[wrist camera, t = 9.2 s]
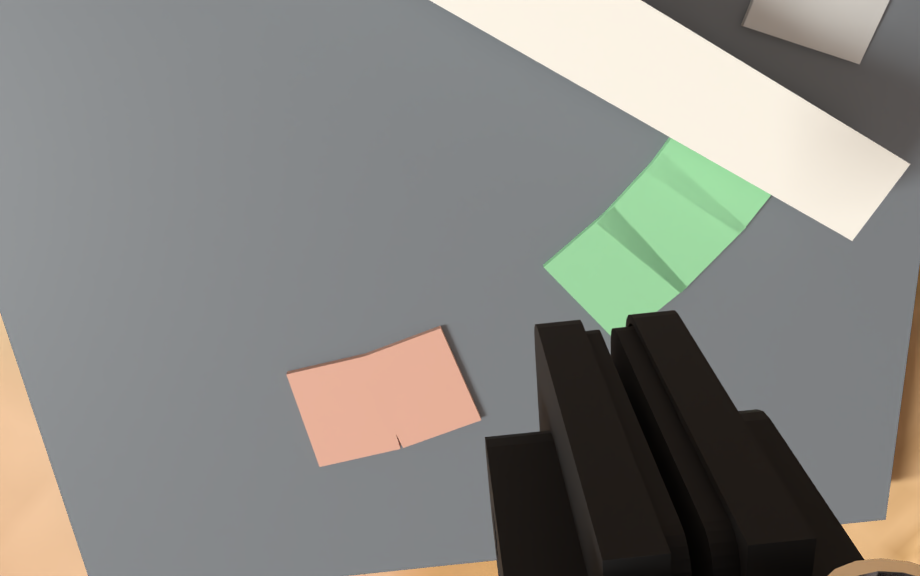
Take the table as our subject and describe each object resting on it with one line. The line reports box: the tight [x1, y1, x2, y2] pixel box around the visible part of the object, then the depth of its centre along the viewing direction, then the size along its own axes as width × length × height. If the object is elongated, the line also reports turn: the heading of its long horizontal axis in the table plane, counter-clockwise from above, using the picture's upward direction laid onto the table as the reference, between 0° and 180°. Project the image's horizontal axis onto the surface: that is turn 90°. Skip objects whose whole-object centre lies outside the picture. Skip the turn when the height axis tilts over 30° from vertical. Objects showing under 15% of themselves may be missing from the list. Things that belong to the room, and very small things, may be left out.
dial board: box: [0, 0, 920, 576], centre depth 21 cm, size 26×24×2 cm
